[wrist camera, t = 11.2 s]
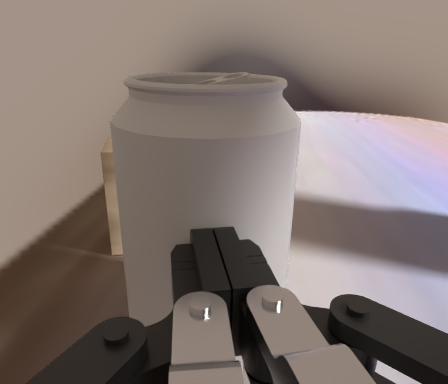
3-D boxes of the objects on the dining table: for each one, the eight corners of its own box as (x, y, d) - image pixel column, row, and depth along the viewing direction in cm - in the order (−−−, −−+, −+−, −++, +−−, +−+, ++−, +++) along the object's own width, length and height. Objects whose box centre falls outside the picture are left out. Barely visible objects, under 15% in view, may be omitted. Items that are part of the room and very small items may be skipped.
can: (124, 292, 21) (102, 67, 16) (248, 269, 23) (257, 67, 19) (141, 407, 14) (110, 83, 10) (311, 360, 17) (348, 79, 12)
